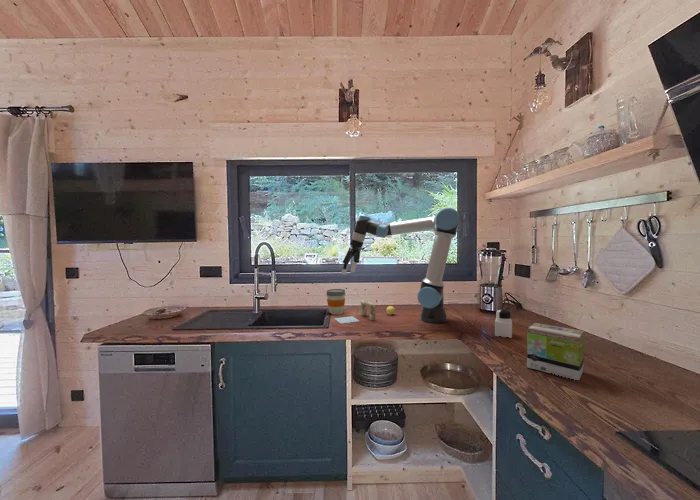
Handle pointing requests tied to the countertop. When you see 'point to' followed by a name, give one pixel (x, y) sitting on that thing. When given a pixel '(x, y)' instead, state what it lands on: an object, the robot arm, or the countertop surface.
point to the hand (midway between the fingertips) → (347, 273)
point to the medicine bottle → (503, 324)
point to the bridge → (371, 309)
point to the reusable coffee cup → (336, 300)
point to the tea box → (555, 350)
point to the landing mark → (346, 320)
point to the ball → (390, 310)
